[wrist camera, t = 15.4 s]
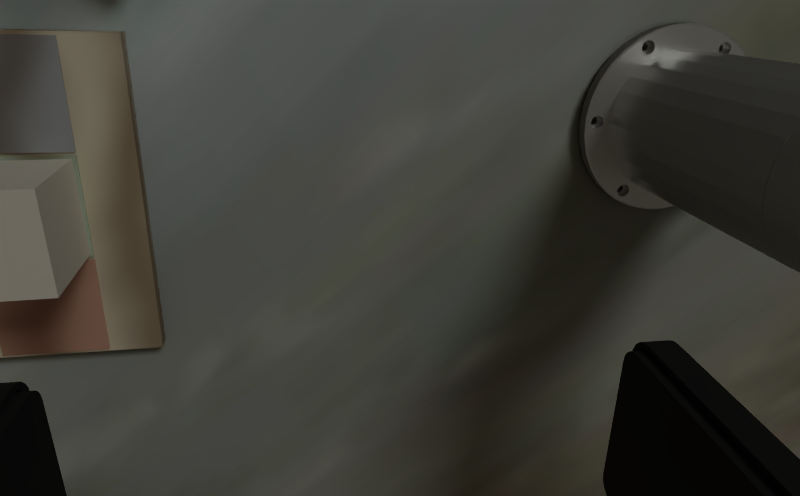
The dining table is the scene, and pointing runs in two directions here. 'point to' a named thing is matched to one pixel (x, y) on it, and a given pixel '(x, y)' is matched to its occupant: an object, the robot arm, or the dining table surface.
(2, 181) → the cream cube
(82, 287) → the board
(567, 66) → the dining table surface
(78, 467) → the dining table surface
